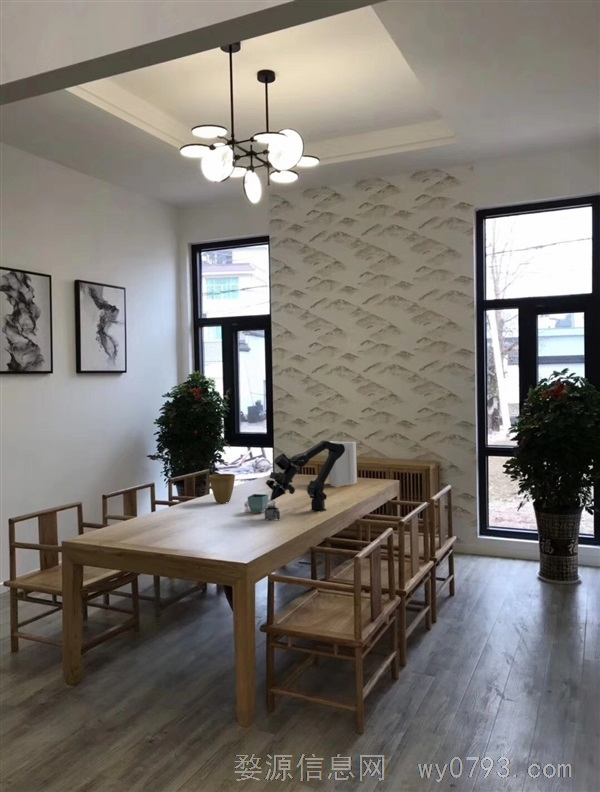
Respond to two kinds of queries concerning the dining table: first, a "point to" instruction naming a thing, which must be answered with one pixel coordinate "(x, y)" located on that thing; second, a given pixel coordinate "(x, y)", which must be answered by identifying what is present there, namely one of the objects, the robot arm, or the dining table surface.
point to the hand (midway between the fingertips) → (271, 499)
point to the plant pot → (222, 486)
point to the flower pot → (257, 502)
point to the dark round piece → (271, 507)
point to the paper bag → (344, 466)
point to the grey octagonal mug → (272, 513)
